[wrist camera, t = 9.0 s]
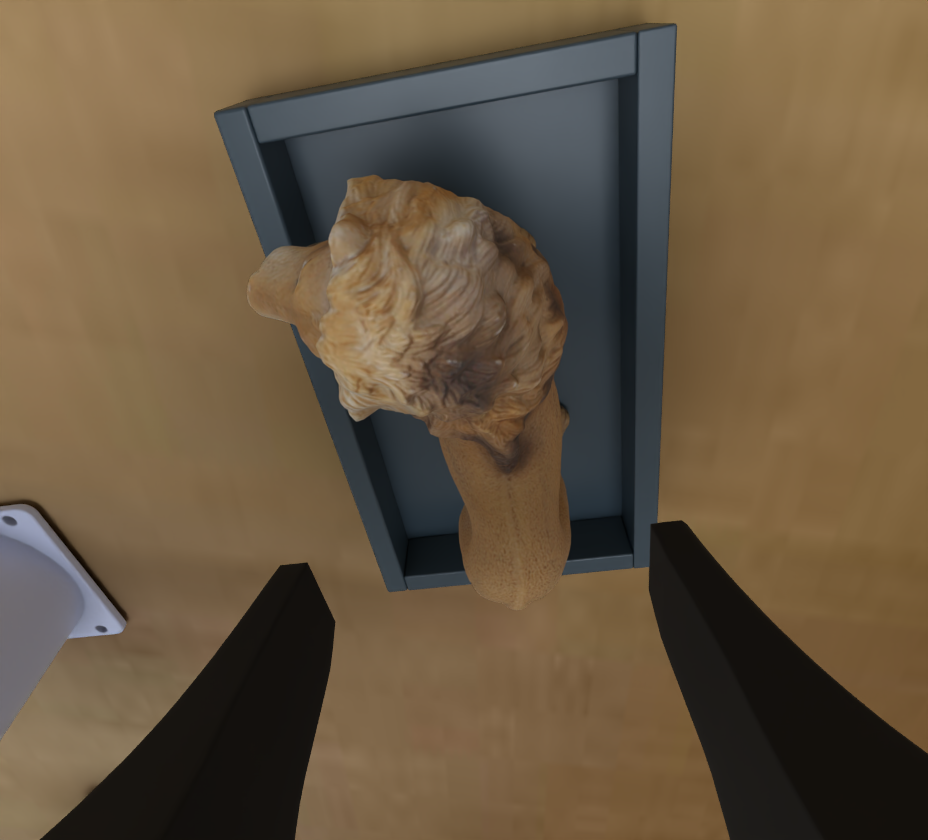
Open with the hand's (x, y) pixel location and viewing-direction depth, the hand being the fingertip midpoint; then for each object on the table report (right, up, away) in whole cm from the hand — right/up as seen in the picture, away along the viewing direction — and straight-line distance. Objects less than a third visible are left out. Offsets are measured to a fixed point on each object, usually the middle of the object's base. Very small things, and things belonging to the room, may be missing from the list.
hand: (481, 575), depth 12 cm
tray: (0, +5, +7) cm, 9 cm away
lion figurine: (0, +6, +6) cm, 8 cm away
